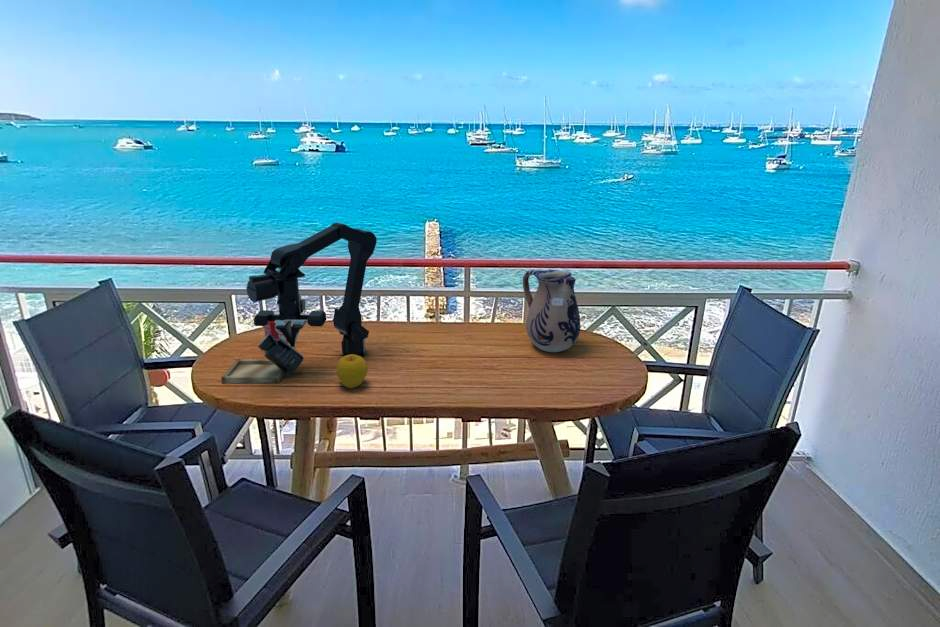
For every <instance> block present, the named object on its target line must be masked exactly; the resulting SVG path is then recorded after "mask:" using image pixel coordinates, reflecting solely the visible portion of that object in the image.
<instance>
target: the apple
mask: <svg viewBox="0 0 940 627" xmlns="http://www.w3.org/2000/svg"><path fill="white" fill-rule="evenodd" d="M336 363H337V364H336V371H335V372H336V376H337V378H338V380H339V381H340V382H341V384H342V385H343V386H344V387H345V388H348V389H354V388H355V389H356V388H357V387H359V386H361V384H362V383H363V381H364V380H365V378H366V377H367V375H368V364H367V362H366V360H365V359H364V358H362V357H361V356H358V355H354V354H350V355H346V356H344V357H343V356H342V357H340V359H339V360H338V361H337V362H336Z"/></svg>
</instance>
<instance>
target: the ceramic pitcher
mask: <svg viewBox="0 0 940 627" xmlns="http://www.w3.org/2000/svg"><path fill="white" fill-rule="evenodd" d="M531 276H534V277H535V278H536V279H537V281H538V286H537V288H536V290H535V294H534V296H532V292H531V289H530V281H529V278H530V277H531ZM522 277H523V278H522V289H523V293H524V296H525V300H526V302H527V306H528V313H527V316H526V319H525V320H526V321H525V330H526V334H527V335H528V338H529V339H530V341H531V342H532V344H533V345H534V346H535V347H536V348H538V349H540V350H541V351H543V352H547V353H560V352H564V351H566V350H569V349H570V348H571V347H572V346H573V345H574V344H575V343H576V342H577V340H578V339H579V336H580V332H581V316H580V311H579V310H580V309H579V306H578V302H577V298H576V294H575V284H576V277H574V276H572V272H570V271H568V270H561V269H544V270H540V269H539V270H538V269H533V268H532V269H529V270H527V271H526V272H525V273H524V275H523V276H522Z"/></svg>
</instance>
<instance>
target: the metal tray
mask: <svg viewBox="0 0 940 627" xmlns="http://www.w3.org/2000/svg"><path fill="white" fill-rule="evenodd" d="M285 374H286V373H285V372H284V371H282V370H281V369H280V368H278V367H277V366H276V365H275V364H273V363H272V362H271V361H269V360H268V359H267V358H265V359H259V358H257V359H255V358H253V359H252V358H251V359H249V358H247V359H246V358H243V359H242V358H241V359H236V360H235V361H234V363H233V364H232V365H231V366H230V367H229V368H228V369H227V370H226V372H225V373H224V374H223V375H222V376H221V377H220V378H221V383H222V384H279V383H280V381H281V380H282V378H283V377H284V376H285Z"/></svg>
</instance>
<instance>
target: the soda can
mask: <svg viewBox="0 0 940 627" xmlns="http://www.w3.org/2000/svg"><path fill="white" fill-rule="evenodd" d="M273 312H274V314H279V310H273ZM263 327H264V338H265V337H266V336H267V335H268V334H271V335H272V336H274V339H283V340H284V341H285V342H286V343H288V344H289V342H288V341H287V339H286V338H285V336H284V335H283V334H282V332H281V331H280V330H279V329H276V321H268V324H267V325H266V326H263ZM289 345H290V344H289Z"/></svg>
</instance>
